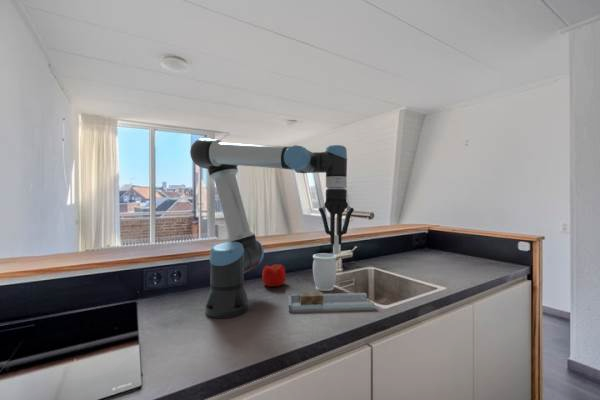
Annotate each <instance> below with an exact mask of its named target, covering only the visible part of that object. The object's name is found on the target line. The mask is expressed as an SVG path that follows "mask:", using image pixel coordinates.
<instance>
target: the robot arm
mask: <svg viewBox="0 0 600 400" xmlns="http://www.w3.org/2000/svg"><path fill="white" fill-rule="evenodd" d="M189 154H190V155H189V156H190V157H191V160H192V162H193V163H194V164H195V165H197V166H198V167H199V168H202V169H205V170H206V169H207V172H208V175H209V178H211V179H212V180H213V181H214V182H215V187H216V191H217V194H218V199H219V202H220V206H221V210H222V213H223V218H224V221H225V225H226V230H227V234H228V239H227V241H226V242H222V243H217V244H216V245H214V246H212V247H211V249H210V252H209V259H208V260H209V276H210V278H209V280H210V282H209V283H210V285H209V286H210V287H209V289H210V290H209V292H208V296H207V300H206V302H205V307H204V308H205V310H204V311H205V315H206V316H208V317H210V318H214V319H215V318H216V319H229V318H235V317H238V316H240V315H243V314H245V313H246V312H247V311H249V308H250V307H249V306H250V305H249V304H250V303H249V297H248V296H247V295H248V294H247V292H246V289H245V285H244V282H245V281H244V280H245V279H244V278H245V277H244V276H245V273H247V272H249V271H251V270H253V269H255V268H256V267H258V266H259V265H260V264H261V262H262V261H263V259H264V255H265V252H264V250H265V249H264V247H263V245H262V243H261V242H260V241H259V240H257V238H256V234H255V233H254V232H252V231H251V229H250V226H249V222H248V221H249V220H248V217H247V214H246V211H245V207H244V203H243V199H242V196H241V191H240V188H239V184H238V180H237V176H236V175H237V174H238V172H239V170H238V166H241V167H242V166H245V167H256V168H257V167H258V168H269V169H279V170H280V169H283V170H294V171H295V173H297V174H314V173H315V174H317V173H325V188H327V189H326V190H325V202H324V205H322V206H321V207H318V212H319V214H320V215H321V220H322V223H323V228H324V231H325V234H326V235H329V236H330V237H329V238H330V245H332V254H335V255H339V245H342V236H343V235H347V233H348V228H349V225H350V221H351V220H350V219H351V217H352V214H353V212H354V210H355V209H354V208H353V207H351V206H349V203H348V201H347V200H348V198H347V196H348V195H347V192H348V191H347V189H346V188H347V186H348V185H347V183H348V181H347V176H348V175H347V174H348V172H347V171H348V154H347V148H346V146H344V145H339V144H338V145H337V144H333V145H328V146H326V148H325V151H322V152H320V151H319V152H312V151H310V150H308V149H307V148H306V147H304V146H302V145H297V144H295V145H290V146H286V145H285V146H284V145H270V144H269V145H267V144H249V143H232V142H224V141H223V142H222V140H220V139H216V138H215V139H212V138H208V137H202V138H198V139H197V140H194V142H193V143H192V145H191V147H190V151H189ZM326 210H327V212H328V214H329V219H330V221H329V222H330V223H329V224H330V225H329V224H328V220H327V215H326ZM345 211H346V212H345ZM344 212H345V213H346V214H345V216H344V217H345V218H344V222H343V219H342V217H343V213H344ZM335 217H336V219H335ZM335 220H336V221H335ZM335 223H336V225H335ZM335 227H337V228H335ZM335 231H336V232H335ZM335 233H336V234H335Z"/></svg>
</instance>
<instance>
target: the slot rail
mask: <svg viewBox="0 0 600 400" xmlns="http://www.w3.org/2000/svg"><path fill="white" fill-rule="evenodd" d="M322 294H323V304H310V305H300V293H299V294H296V293H295V294H288V298H287V300H288V302H287V303H288V304H287V305H288V312H289V313H305V312H308V313H311V312H344V311H375V310H376V309H375V302H373V301H369V300H368V294H367V293H366V292H348V293H347V292H343V293H342V292H341V293H340V292H339V293H322Z"/></svg>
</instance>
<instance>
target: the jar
mask: <svg viewBox="0 0 600 400" xmlns="http://www.w3.org/2000/svg"><path fill="white" fill-rule="evenodd" d="M337 257H338V256H337V254H334V253H328V252H323V253H322V252H320V253H314V254H312V258H313V261H312V275H313V281H314V284H315V289H316V290H318V291H320V292H322V291H323V292H328V291H333V290H334V289H335V287H334V286H335V284H336V279H337V273H338V271H337V270H338V267H337V266H338V265H337V261H336V260H337Z"/></svg>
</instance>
